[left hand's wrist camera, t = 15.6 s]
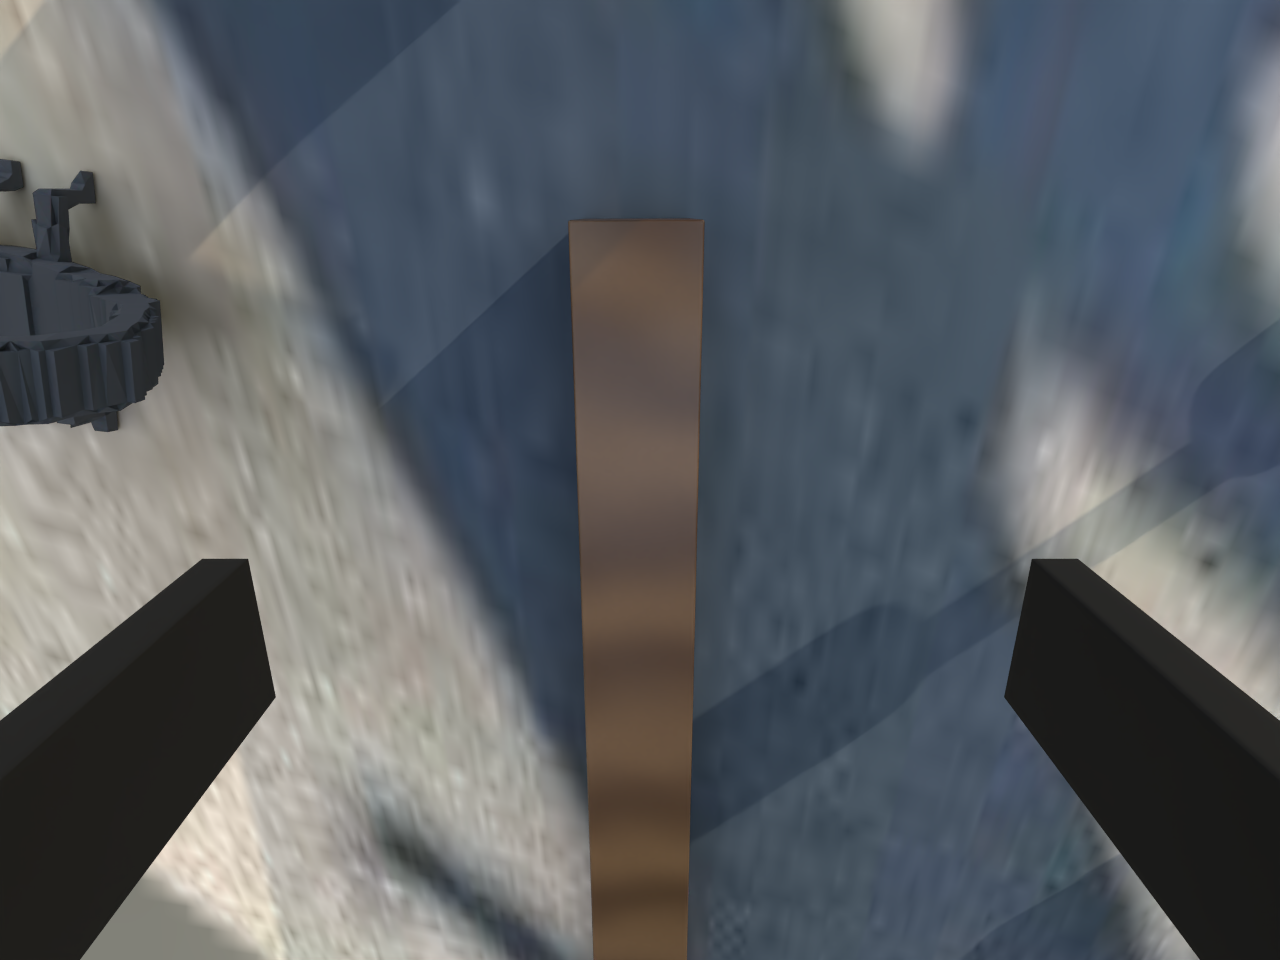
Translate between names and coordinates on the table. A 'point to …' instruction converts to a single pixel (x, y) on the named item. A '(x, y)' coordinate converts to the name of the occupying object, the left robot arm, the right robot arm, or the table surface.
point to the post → (638, 566)
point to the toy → (69, 324)
